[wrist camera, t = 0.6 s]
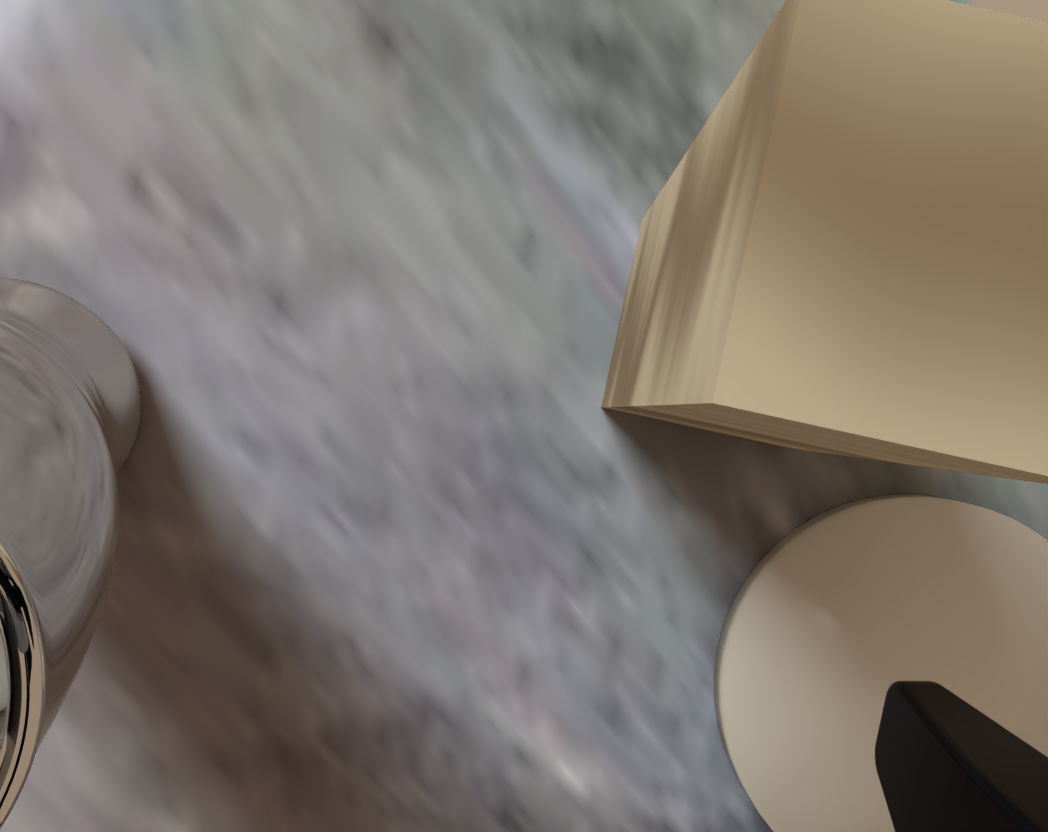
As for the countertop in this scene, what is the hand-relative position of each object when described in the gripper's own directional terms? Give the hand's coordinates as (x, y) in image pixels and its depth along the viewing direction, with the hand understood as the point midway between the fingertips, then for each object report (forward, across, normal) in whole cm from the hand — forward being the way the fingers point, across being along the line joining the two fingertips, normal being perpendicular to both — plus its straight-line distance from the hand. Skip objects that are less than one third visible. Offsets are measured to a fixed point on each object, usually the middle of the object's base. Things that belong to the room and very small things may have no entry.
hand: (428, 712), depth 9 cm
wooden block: (+15, -6, +1) cm, 16 cm away
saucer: (+12, -11, +9) cm, 19 cm away
